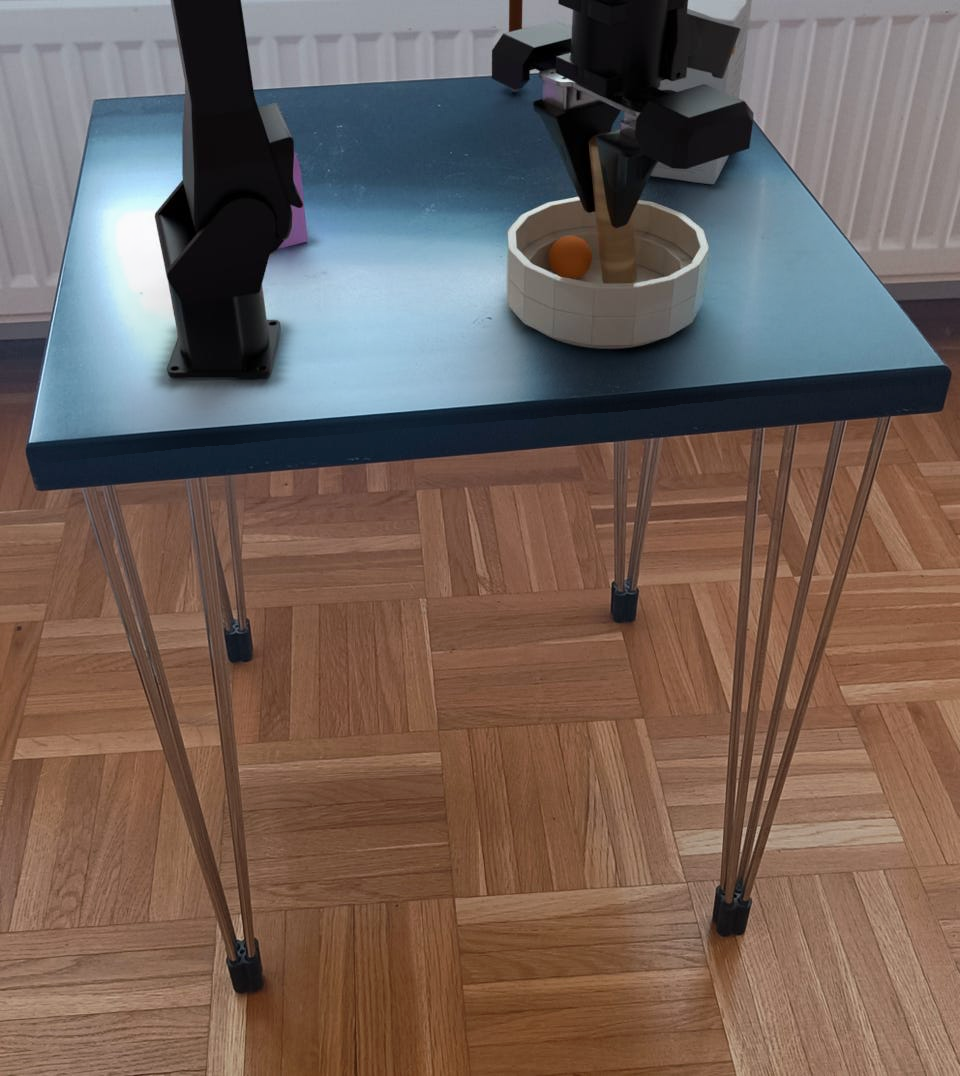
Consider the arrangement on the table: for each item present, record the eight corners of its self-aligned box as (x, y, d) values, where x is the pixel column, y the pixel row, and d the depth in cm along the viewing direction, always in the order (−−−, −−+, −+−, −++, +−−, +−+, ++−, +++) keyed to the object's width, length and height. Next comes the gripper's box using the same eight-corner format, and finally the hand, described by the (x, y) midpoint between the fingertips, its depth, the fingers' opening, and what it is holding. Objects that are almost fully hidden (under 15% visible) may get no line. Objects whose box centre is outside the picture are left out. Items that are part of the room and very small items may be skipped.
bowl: (712, 356, 81) (722, 287, 78) (509, 357, 81) (510, 288, 78) (685, 260, 91) (693, 195, 88) (504, 260, 91) (505, 196, 88)
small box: (661, 138, 108) (676, -20, 100) (734, 148, 106) (755, -12, 98) (637, 175, 102) (651, 10, 94) (714, 186, 100) (735, 19, 92)
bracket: (307, 241, 93) (298, 151, 89) (237, 259, 91) (225, 168, 87) (242, 178, 102) (231, 93, 97) (176, 193, 100) (162, 107, 95)
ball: (595, 277, 85) (563, 252, 84) (567, 294, 87) (535, 270, 86) (604, 244, 87) (573, 219, 85) (576, 262, 89) (545, 238, 87)
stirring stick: (631, 288, 85) (619, 147, 78) (597, 286, 86) (583, 146, 79) (641, 271, 86) (630, 131, 80) (608, 269, 87) (595, 131, 81)
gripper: (839, -16, 71) (794, 238, 81) (624, -85, 82) (608, 144, 92) (694, 21, 66) (666, 287, 76) (487, -58, 77) (486, 181, 87)
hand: (606, 218), depth 83 cm, fingers closed on stirring stick, 2 cm apart
